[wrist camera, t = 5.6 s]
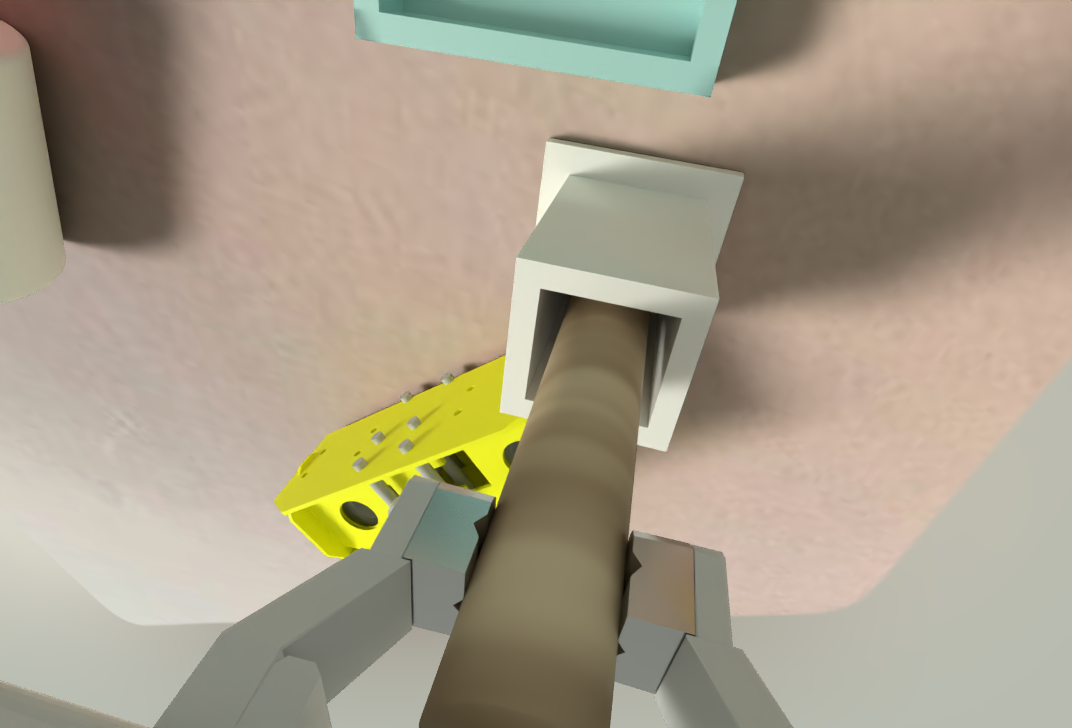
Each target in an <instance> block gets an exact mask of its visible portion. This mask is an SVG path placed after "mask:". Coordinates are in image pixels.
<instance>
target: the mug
mask: <svg viewBox="0 0 1072 728" xmlns="http://www.w3.org/2000/svg"><path fill="white" fill-rule="evenodd" d="M65 262H66V253H65V247H64V241H63V236H62V230H61V224H60V218H59V213H58V207H57V201H56V196H55V190H54V184H53V178H52V173H51V167H50V161H49V156H48V150H47V144H46V138H45V133H44V127H43V121H42V116H41V110H40V104H39V98H38V93H37V87H36V81H35V76H34V70H33V64H32V58H31V53H30V47H29V45H28V43H27V41H26V39H25V38H24V37H23V36H22V35H21V34H20V33H19V32H18V31H17V30H16V29H14V28H13V27H11V26H10V25H8V24H7V23H5V22H3V21H1V20H0V304H3V303H7V302H11V301H14V300H17V299H20V298H23V297H25V296H28V295H30V294H33V293H35V292H37V291H39V290H41V289H42V288H44V287H46V286H47V285H49V284H50V283H51V282H52V281H54V280H55V279H56V278H57V277H58V276H59V275H60V273H61V272H62V270H63V268H64V266H65Z"/></svg>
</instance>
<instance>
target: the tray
mask: <svg viewBox="0 0 1072 728" xmlns="http://www.w3.org/2000/svg"><path fill="white" fill-rule="evenodd" d="M736 3H737V0H354V16H355V34H356V39H362V40H368V41H374V42H380V43H386V44H392V45H398V46H404V47H410V48H416V49H422V50H429V51H435V52H441V53H447V54H453V55H459V56H465V57H471V58H477V59H483V60H489V61H495V62H501V63H507V64H513V65H519V66H525V67H531V68H537V69H543V70H549V71H555V72H561V73H567V74H573V75H579V76H585V77H591V78H597V79H603V80H609V81H615V82H621V83H627V84H633V85H640V86H646V87H652V88H658V89H664V90H670V91H676V92H682V93H688V94H694V95H700V96H706V97H711V94H712V90H713V86H714V83H715V79H716V76H717V72H718V68H719V65H720V61H721V57H722V54H723V50H724V46H725V43H726V39H727V35H728V32H729V28H730V24H731V21H732V17H733V13H734V10H735V6H736Z"/></svg>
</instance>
